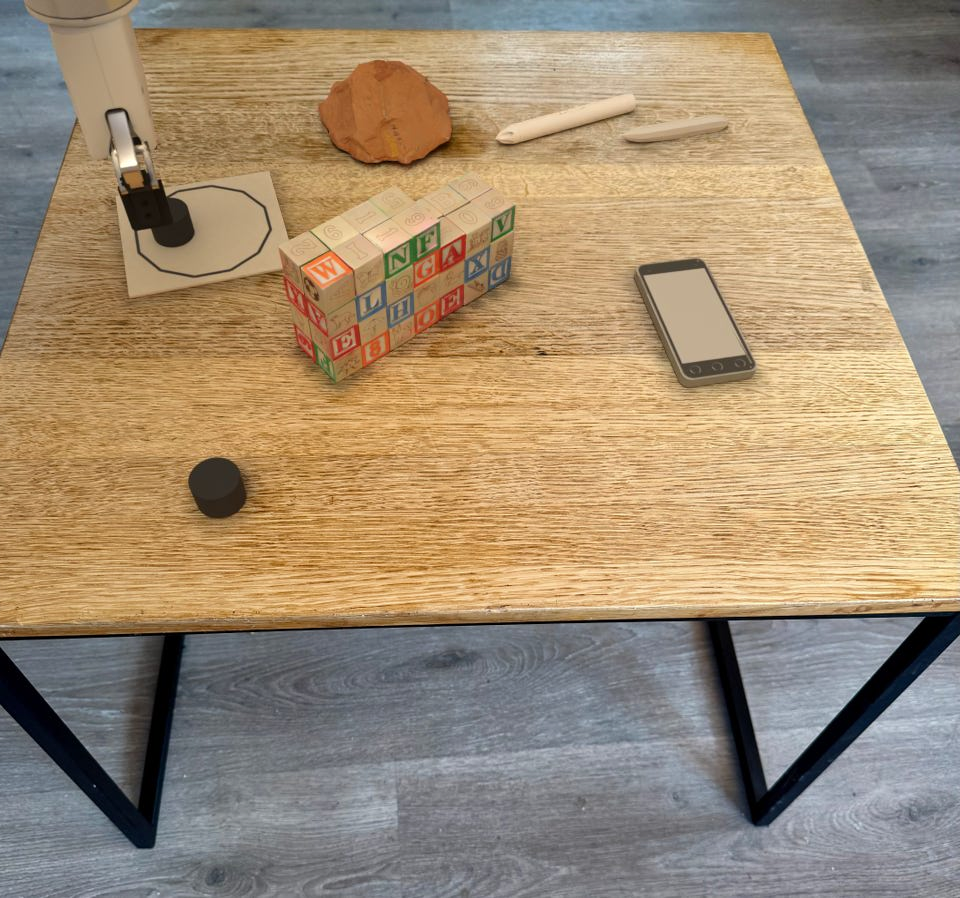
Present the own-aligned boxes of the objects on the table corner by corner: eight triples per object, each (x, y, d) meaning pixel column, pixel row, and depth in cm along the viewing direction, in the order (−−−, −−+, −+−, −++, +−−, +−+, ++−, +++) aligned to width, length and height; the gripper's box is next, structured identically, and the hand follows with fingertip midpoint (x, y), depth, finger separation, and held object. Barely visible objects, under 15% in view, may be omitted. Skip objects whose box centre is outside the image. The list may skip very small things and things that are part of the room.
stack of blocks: (469, 244, 90) (474, 142, 80) (511, 279, 87) (521, 177, 77) (295, 344, 81) (275, 243, 71) (335, 385, 79) (321, 287, 68)
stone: (462, 176, 99) (446, 128, 90) (339, 204, 101) (310, 160, 91) (443, 63, 103) (425, 4, 93) (324, 92, 104) (294, 37, 95)
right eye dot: (199, 524, 70) (191, 504, 68) (193, 483, 72) (184, 463, 70) (250, 511, 71) (243, 492, 68) (242, 472, 73) (235, 451, 71)
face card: (129, 298, 83) (128, 296, 83) (115, 197, 91) (114, 194, 91) (296, 267, 87) (296, 264, 86) (269, 172, 95) (269, 170, 94)
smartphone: (684, 380, 79) (633, 265, 87) (682, 388, 80) (631, 273, 88) (760, 369, 80) (703, 256, 88) (756, 377, 81) (700, 264, 89)
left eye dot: (156, 251, 87) (148, 227, 84) (151, 224, 89) (143, 200, 86) (197, 243, 88) (190, 220, 85) (192, 217, 90) (185, 194, 87)
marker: (499, 152, 98) (500, 134, 96) (490, 141, 99) (491, 123, 97) (634, 114, 104) (638, 96, 102) (625, 104, 105) (628, 87, 103)
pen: (616, 141, 101) (618, 128, 99) (724, 122, 104) (728, 110, 102) (621, 149, 100) (624, 137, 98) (730, 130, 103) (734, 118, 101)
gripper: (11, -80, 62) (88, 131, 76) (23, 55, 52) (108, 267, 66) (121, -91, 63) (177, 118, 77) (152, 38, 54) (209, 248, 68)
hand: (145, 187), depth 72 cm, fingers open, 9 cm apart
